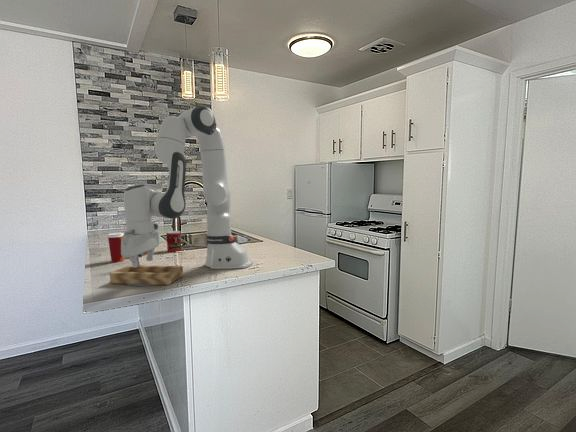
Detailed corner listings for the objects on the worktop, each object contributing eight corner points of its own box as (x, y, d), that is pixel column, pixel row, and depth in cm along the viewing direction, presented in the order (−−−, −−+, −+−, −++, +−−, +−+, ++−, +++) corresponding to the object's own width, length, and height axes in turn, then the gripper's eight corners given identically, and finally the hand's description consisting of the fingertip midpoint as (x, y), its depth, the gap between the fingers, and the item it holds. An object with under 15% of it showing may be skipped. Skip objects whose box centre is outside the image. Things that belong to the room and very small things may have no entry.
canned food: (169, 252, 181) (168, 233, 180) (165, 250, 188) (164, 231, 186) (183, 250, 186) (182, 231, 184) (179, 248, 192) (178, 230, 191)
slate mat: (177, 274, 137) (177, 273, 137) (156, 287, 121) (156, 286, 121) (142, 273, 139) (142, 273, 139) (117, 285, 123) (117, 284, 123)
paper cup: (128, 260, 163) (126, 233, 162) (111, 263, 158) (109, 235, 157) (123, 258, 169) (121, 231, 168) (107, 261, 164) (105, 233, 162)
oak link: (183, 275, 134) (182, 266, 134) (168, 284, 122) (167, 274, 122) (129, 274, 137) (128, 265, 137) (110, 283, 125) (109, 273, 125)
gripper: (131, 232, 112) (135, 271, 113) (160, 224, 132) (163, 257, 133) (114, 232, 112) (118, 271, 114) (146, 224, 133) (149, 257, 134)
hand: (143, 263), depth 124 cm, fingers open, 8 cm apart
